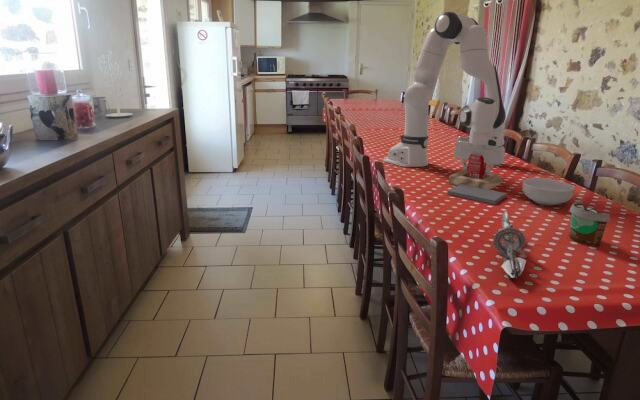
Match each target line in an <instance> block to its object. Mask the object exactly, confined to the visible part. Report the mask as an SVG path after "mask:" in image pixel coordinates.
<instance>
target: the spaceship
mask: <svg viewBox="0 0 640 400" xmlns="http://www.w3.org/2000/svg"><path fill="white" fill-rule="evenodd" d="M501 226H502V228H501V229H499V230H497V232H495V234H494V235H493V238H492V243H493V245H494V247H495V248H496V252H497V254H499V255H501V256H502V257H503V258H502V259H503V263H502V265H500V267H501V268H502V269H503V270H504V272H505V273H506V274H507V275H508V276H510V278H511V279H516V280H517V278H518V277H519V276H521V275H522V272H523V271H524V269H525V265H526V264H527V263H526V262H527V260H526V259H524V258H522V257H518V256H517V253H519V254H521V255H522V256H524V257H525V258H527V254H526V250H525V251H524V250H523V248H524V246H525V244H526V236H525V234H524V233H523V232H522V231H521V230H520V229H518V228H516V227H514V224H512V223H510V216H509V212H508V211H503V213H502V215H501ZM514 237H516V239H515V238H514ZM501 239H503V240H501Z"/></svg>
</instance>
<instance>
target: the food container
mask: <svg viewBox="0 0 640 400" xmlns="http://www.w3.org/2000/svg"><path fill="white" fill-rule="evenodd" d="M569 212H570V213H571V217H570V226H569V239H570V240H571V241H573V242H576V243H578V244H581V245H585V244H586V245H585V246H590V245H595V246H594V247H600V245H601V242H602V239H603V237H604V233H605V231H606V227H607V224H608V223H609V222H610V221H611V220H610V219H611V218H610V215H611V214H610V213H601V212H600V211H598V210H597V209H595V208H593V207H589V206H587V205H585V204H583V200H579V201H575V202H572V205H571V206H570V208H569Z"/></svg>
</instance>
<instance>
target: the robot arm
mask: <svg viewBox="0 0 640 400" xmlns="http://www.w3.org/2000/svg"><path fill="white" fill-rule="evenodd" d="M451 44H455V45H459V46H460V49H459V55H460V56H459V60H460V67H461V69H462V71H463V72H464V73H466V74H467V75H469V76H471V77H474V78H476V79H477V80H480V81H481V82H483V84H484V85H485V86H486V92H487V97H483V96H482V97H477V98H476V99H475V100H474V102H472V103H470V104H466V105H464V106H462V108H461V109H460V112H459V118H458V119H459V123H460V124H461V125H462V126H464V127H466V128H470V131H469V136H467V137H466V136H458V137H457V138H456V139H455V147H454V151H453V156H454V158H455V159H458V160H461V164H462V167H463V169H462V170H468V165H467V163H466V162H467V161H469V157H470V155H471V154H475V155H483V158H484V163H489V165H488V166H489V167H488V168H486V172H485V174H490V173H491V171H492V170H493V168H494V167H495V166H501V165H503V164H504V162H505V161H506V148H505V146H504V145H505V140H503V139H501V138H499V137H497V136H494V135H493V129H496V128H498V127H500V126H501V125H502V124H503V123H504V122H505V121H506V118H507V117H506V116H507V115H506V109H505V106H504V104H503V99H502V98H503V97H502V92H501V84H500V80H499V75H498V70H497V68H496V66H495V65H493V64H492V61H491V59H490V56H489V55H490V54H489V42H488V34H487V30H486V29H485V27H484V26H482V25H480V24H479V23H478V21H476V19H474V18H472V17H469V16H468V15H465V14H462V13H455V12H454V11H445V12H442V13H441V14H439V15H438V16H437V18H436V20H435V22H434V27H433V28H431V29H430V30H429V32H428V34H427V36H426V37H425V40H424V42H423V45H422V47H421V51H420V53H419V57H418V59H417V63H416V66H415V70H414V71H415V72H414V75H413V80H412V84H410V85H409V86H408V87H406V90H405V92H404V115H405V116H404V117H405V118H404V119H405V120H404V121H405V122H404V134H403V135H400V136H399V138H398V139H400V141H399V142H398V143H396V144H395V145H394V146H392V147H391V148H390V149H389V150H388V154H387V156H386V157H384V158H383V159H382V161H383V162H384V163H387V164H392V165H396V166H400V167H404V168H406V167H407V168H408V167H413V168H414V167H415V168H419V167H421V168H422V167H425V166H428V165H429V162H428V161H429V159H428V150H427V149H428V144H429V135H428V134H429V133H428V132H429V131H428V130H429V122H430V121H429V118H430V117H429V103H430V102H431V100H432V99H433V96H434V93H435V89H436V87H437V83H438V79H439V75H440V72H441V68H442V67H443V63H444V60H445V58H446V55H447V52H448V50H449V47H450V45H451ZM502 145H503V146H502ZM494 164H495V165H494Z"/></svg>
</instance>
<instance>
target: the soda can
mask: <svg viewBox="0 0 640 400" xmlns="http://www.w3.org/2000/svg"><path fill="white" fill-rule="evenodd" d="M467 164H468V165H467V166H468V171H467V177H470V178H476V179H481V180H483V179H485V172H486V169H487V165H486V164H487V163H484V158H483V155H475V154H471V155H470V157H469V160H468V163H467Z"/></svg>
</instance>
